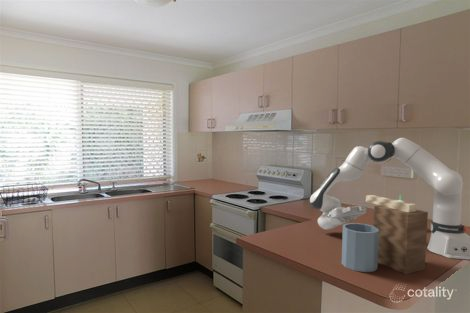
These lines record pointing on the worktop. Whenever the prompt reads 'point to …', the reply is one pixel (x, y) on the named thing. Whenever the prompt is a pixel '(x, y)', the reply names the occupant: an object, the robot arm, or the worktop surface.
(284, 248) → the worktop surface
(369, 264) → the pot
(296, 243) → the worktop surface
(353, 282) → the worktop surface
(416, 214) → the stand
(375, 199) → the slat
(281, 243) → the worktop surface
